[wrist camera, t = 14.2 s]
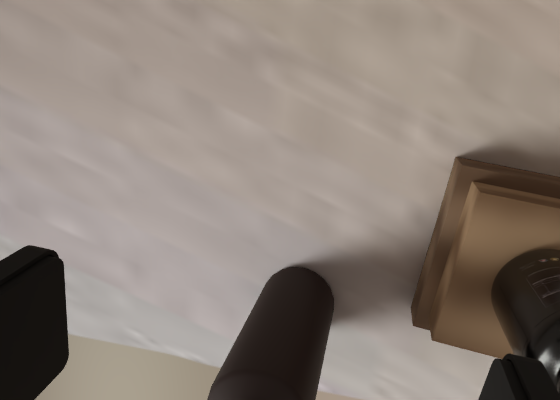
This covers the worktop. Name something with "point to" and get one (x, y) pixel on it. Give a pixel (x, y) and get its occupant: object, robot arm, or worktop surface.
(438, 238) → the stepped wooden plinth
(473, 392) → the worktop surface
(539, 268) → the supplement bottle
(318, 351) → the vinegar
